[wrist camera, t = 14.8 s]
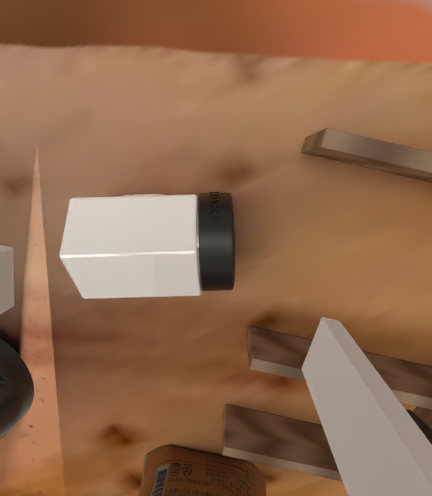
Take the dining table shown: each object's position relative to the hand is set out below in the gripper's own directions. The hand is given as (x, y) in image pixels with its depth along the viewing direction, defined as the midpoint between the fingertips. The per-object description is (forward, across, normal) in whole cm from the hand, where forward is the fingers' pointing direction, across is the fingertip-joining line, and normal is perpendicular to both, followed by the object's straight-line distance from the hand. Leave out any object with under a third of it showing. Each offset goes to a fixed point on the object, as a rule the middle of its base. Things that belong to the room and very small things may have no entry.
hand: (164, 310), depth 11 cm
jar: (+10, -9, -2) cm, 14 cm away
